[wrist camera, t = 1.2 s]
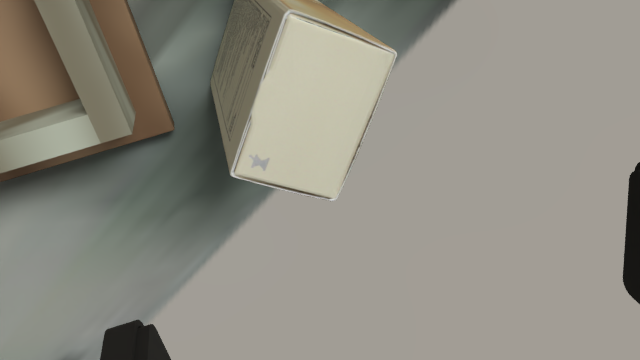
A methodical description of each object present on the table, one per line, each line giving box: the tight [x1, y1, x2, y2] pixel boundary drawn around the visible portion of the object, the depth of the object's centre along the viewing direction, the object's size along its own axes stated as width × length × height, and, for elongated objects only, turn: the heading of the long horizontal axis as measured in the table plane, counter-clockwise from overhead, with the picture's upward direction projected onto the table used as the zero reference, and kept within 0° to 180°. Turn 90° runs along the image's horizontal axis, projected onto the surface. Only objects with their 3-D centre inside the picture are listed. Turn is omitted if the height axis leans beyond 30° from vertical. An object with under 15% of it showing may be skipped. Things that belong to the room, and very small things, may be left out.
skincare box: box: [210, 0, 397, 201], centre depth 25 cm, size 6×4×12 cm
